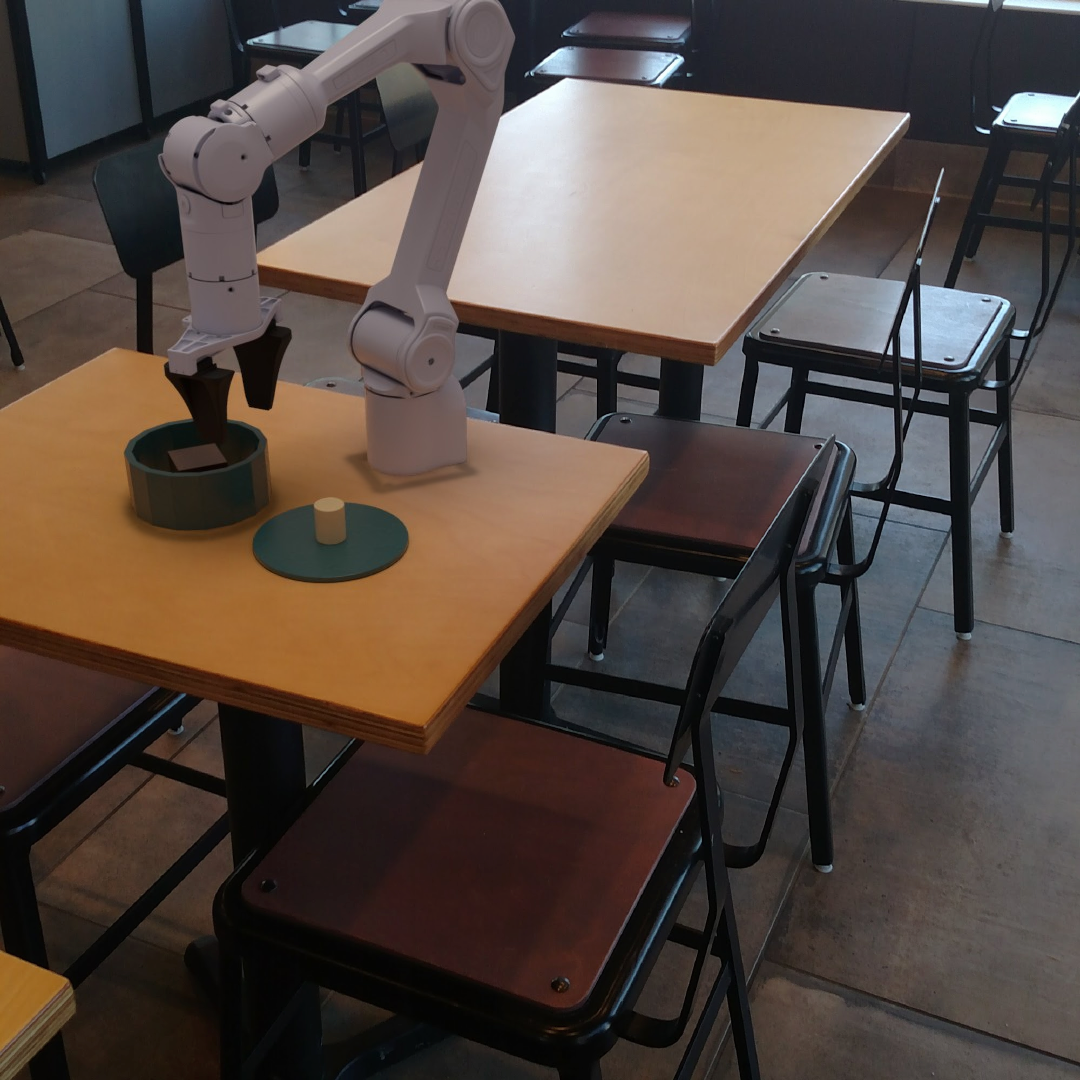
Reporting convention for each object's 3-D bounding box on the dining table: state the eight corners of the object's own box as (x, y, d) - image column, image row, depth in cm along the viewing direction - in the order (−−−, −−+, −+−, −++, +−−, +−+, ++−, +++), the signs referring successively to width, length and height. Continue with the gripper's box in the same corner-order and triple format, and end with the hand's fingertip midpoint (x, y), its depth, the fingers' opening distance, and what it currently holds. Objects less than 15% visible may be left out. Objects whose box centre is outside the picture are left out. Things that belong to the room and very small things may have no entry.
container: (250, 464, 123) (244, 409, 120) (288, 518, 114) (283, 460, 111) (121, 487, 118) (112, 430, 115) (149, 547, 109) (141, 486, 106)
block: (219, 485, 118) (214, 442, 116) (232, 504, 115) (227, 461, 113) (172, 493, 117) (167, 451, 114) (184, 514, 113) (178, 470, 111)
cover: (376, 501, 117) (374, 459, 115) (432, 567, 107) (431, 522, 105) (235, 530, 112) (230, 486, 109) (280, 602, 101) (275, 556, 99)
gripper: (228, 242, 109) (242, 387, 116) (126, 290, 97) (149, 448, 104) (299, 252, 107) (309, 399, 114) (205, 303, 95) (222, 463, 102)
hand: (237, 423), depth 109 cm, fingers open, 7 cm apart
